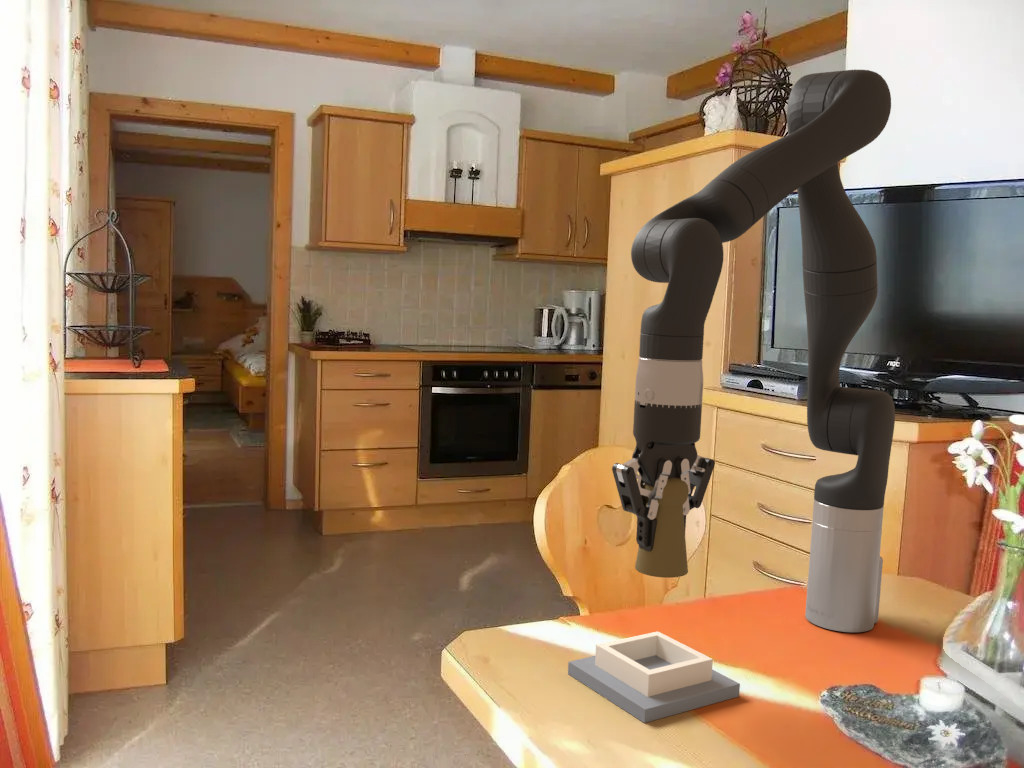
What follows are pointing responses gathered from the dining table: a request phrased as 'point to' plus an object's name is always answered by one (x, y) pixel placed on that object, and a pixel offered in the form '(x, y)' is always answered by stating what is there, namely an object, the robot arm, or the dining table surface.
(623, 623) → the dining table surface
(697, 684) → the board
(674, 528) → the olive brown knobbed peg
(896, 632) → the dining table surface
